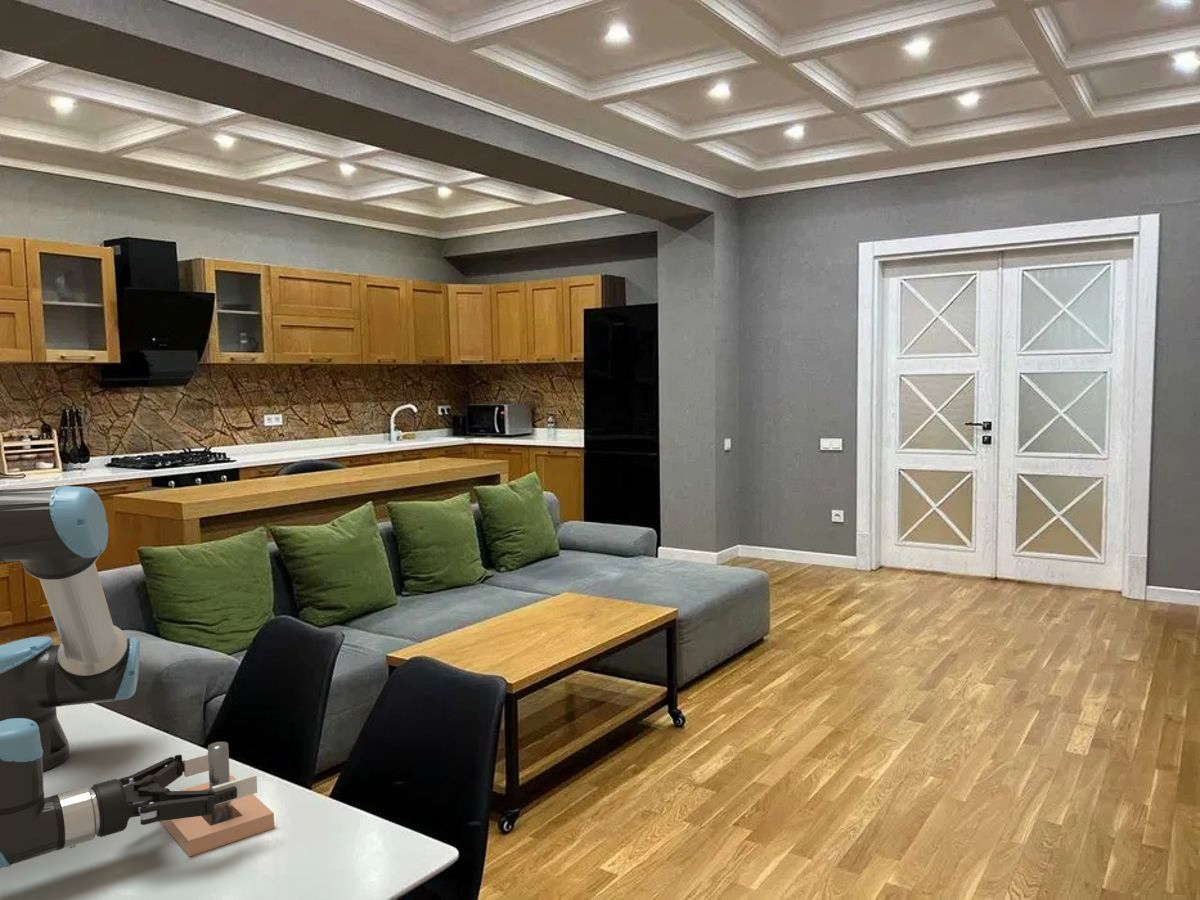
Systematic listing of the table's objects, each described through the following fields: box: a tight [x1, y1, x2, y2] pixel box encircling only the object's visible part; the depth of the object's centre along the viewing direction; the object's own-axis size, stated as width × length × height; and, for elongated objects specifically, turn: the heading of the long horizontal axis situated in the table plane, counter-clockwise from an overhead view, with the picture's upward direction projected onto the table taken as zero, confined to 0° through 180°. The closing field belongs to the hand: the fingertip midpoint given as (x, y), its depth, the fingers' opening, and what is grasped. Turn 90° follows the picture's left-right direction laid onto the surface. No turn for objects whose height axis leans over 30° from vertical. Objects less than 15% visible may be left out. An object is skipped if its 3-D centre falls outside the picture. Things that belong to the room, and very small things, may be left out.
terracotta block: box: [159, 774, 275, 858], centre depth 147 cm, size 19×13×2 cm
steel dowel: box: [207, 741, 232, 826], centre depth 143 cm, size 3×3×14 cm
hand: (240, 769), depth 145 cm, fingers open, 13 cm apart
